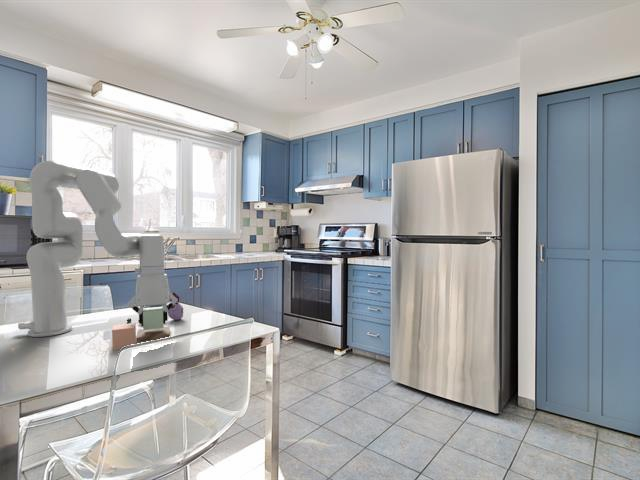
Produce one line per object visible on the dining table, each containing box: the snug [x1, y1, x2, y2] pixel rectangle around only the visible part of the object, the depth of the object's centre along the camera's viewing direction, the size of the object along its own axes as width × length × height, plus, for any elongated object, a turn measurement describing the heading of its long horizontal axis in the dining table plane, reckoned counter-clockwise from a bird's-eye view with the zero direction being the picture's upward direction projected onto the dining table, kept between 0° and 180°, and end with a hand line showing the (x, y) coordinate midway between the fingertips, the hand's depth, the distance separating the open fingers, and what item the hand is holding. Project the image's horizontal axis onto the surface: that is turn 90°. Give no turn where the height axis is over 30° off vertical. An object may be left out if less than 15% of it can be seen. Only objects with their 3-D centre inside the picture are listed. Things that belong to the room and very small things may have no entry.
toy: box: [137, 292, 184, 325], centre depth 144 cm, size 10×15×15 cm
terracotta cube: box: [111, 322, 137, 350], centre depth 114 cm, size 6×6×6 cm
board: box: [136, 326, 171, 343], centre depth 123 cm, size 10×10×2 cm
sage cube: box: [142, 307, 165, 330], centre depth 123 cm, size 6×6×6 cm
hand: (153, 323), depth 123 cm, fingers closed on sage cube, 6 cm apart
